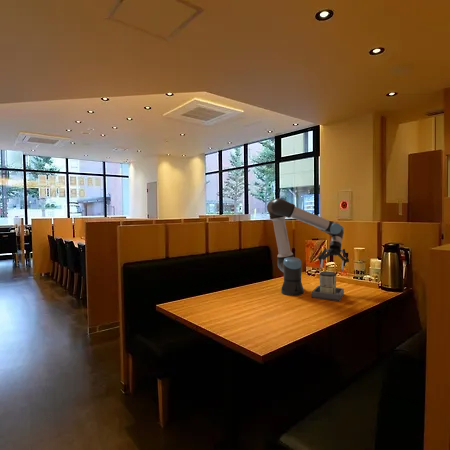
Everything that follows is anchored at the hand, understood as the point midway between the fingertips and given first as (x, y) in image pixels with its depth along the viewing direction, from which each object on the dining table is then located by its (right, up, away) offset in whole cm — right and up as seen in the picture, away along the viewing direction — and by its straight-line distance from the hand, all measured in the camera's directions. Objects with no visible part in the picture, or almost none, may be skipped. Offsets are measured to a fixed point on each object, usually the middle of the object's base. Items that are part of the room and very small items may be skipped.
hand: (331, 268), depth 211 cm
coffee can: (-4, -16, -6) cm, 17 cm away
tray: (-4, -17, -6) cm, 18 cm away
